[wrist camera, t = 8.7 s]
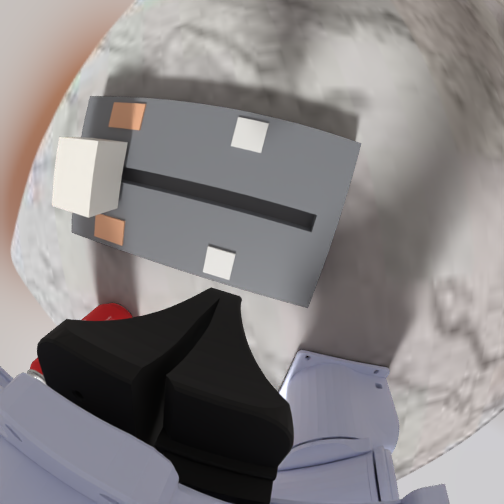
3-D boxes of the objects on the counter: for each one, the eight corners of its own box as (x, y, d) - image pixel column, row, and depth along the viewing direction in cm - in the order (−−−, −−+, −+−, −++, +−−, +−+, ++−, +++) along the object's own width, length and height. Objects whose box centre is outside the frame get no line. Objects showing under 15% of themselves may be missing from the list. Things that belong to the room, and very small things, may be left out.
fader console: (354, 145, 18) (361, 143, 16) (307, 295, 22) (307, 309, 20) (103, 99, 19) (89, 96, 17) (85, 227, 23) (70, 232, 21)
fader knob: (137, 143, 19) (98, 141, 14) (127, 205, 20) (88, 217, 16) (99, 138, 19) (59, 136, 14) (91, 195, 21) (52, 205, 16)
